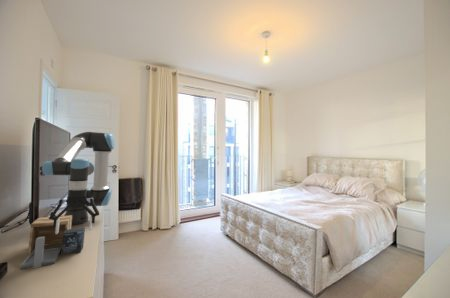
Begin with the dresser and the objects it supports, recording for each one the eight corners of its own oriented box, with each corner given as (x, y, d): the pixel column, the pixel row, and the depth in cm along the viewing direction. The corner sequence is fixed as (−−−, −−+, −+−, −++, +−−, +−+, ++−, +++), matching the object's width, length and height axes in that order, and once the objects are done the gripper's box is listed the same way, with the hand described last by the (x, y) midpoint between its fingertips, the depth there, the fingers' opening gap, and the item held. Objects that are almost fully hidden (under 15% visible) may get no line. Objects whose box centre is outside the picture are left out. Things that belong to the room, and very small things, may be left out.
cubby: (36, 245, 103) (39, 217, 103) (70, 241, 110) (72, 214, 110) (28, 255, 93) (30, 224, 94) (65, 249, 100) (68, 220, 101)
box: (61, 255, 95) (63, 233, 95) (64, 250, 100) (66, 228, 100) (81, 252, 98) (82, 231, 98) (83, 247, 103) (85, 227, 104)
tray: (32, 255, 93) (34, 229, 94) (61, 250, 99) (63, 226, 99) (19, 270, 81) (22, 240, 82) (53, 264, 87) (56, 236, 87)
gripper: (43, 191, 91) (38, 237, 90) (105, 189, 103) (102, 230, 102) (48, 188, 98) (44, 232, 96) (106, 187, 110) (103, 225, 108)
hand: (74, 231), depth 99 cm, fingers open, 13 cm apart
